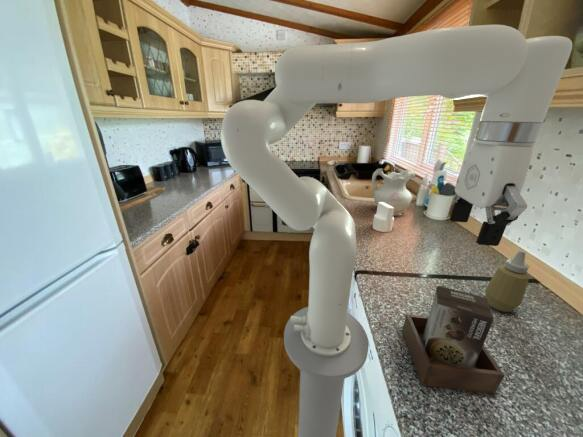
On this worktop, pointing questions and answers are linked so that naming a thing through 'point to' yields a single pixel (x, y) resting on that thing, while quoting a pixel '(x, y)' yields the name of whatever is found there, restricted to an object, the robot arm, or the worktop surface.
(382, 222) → the base with upright slab
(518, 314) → the worktop surface
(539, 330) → the worktop surface
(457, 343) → the coffee box
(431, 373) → the tray
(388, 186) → the ceramic pitcher
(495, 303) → the squeeze bottle
